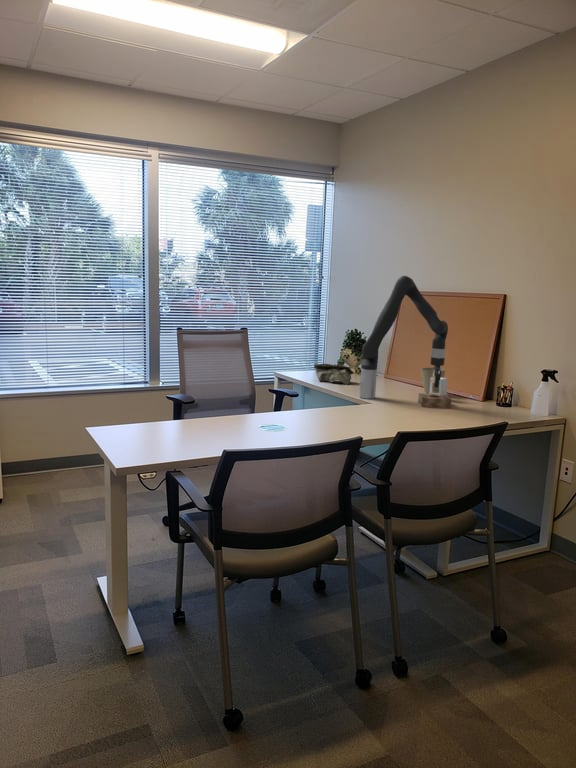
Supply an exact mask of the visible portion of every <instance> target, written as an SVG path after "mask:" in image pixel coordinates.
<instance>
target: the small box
mask: <svg viewBox="0 0 576 768" xmlns="http://www.w3.org/2000/svg"><path fill="white" fill-rule="evenodd" d="M432 383H433V377H431V379H430V392H429V394H441V395H447V396H448V394H447V393H448V391H447V390H448V378H446V377H444V378H441V377H440V387H439V393H433V392H432Z"/></svg>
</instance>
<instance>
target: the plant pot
mask: <svg viewBox="0 0 576 768" xmlns="http://www.w3.org/2000/svg"><path fill="white" fill-rule="evenodd" d="M440 369H441V378H445V373H446V369H445V368H441V367H440ZM420 373H421V374H420V375H421V381H422V386H423V389H424V394H429V392H430V379H431V377H433V367H430V366H429V367H421V368H420Z"/></svg>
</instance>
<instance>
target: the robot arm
mask: <svg viewBox="0 0 576 768" xmlns="http://www.w3.org/2000/svg"><path fill="white" fill-rule="evenodd" d="M405 296H407V297H408V298H409V299H410V301H412V303H413V304H414V306H415V307H416V309H417V310H418V312H419V313H420V315H421V316H422V317H423V318H424V320H425V321H426V323H427V324H428V327H429V328H430V329H431V331H432V332H434V338H433V339H432V345H431V351H430V353H431V354H430V365H431V366H433V367H432V368H433V374H434V377H435V385H434V387H436V388H438V387H439V380H440V377H441V369H440V368H441V366H444V365H445V361H446V358H445V357H446V340H447V337H448V336H447V335H448V333H449V332H448V331H449V326H448V323H447V322H446V321H445V320H440V318H439V317H438V313H437V311H436V310H435V309H434V308H433V306H432V305H431V303H429V302H428V301H427V300H426V298H425V297H424V296H423V294H422V293H421V291H420V290H419V288H418V287H417V285H416V283H415V281H414V280H413V279H412V278H411V277H410V276H408V275H401V276H399V278H397V280H396V282H395V284H394V286H393V289H392V291H391V294H390V296H389V298H388V299H387V301H386V303H385V304H384V307H383V308H382V310H381V312H380V314H379V316H378V317H377V320H376V322H375V324H374V327H373V329H372V332H371V334H370V335H369V336H368V338H367V339H366V341H365V343H364V344H363V346H362V348H361V353H362V359H361V365H360V366H361V368H360V370H361V371H360V382H359V398H360V399H369V400H370V399H373V400H374V399H375V398H376V389H377V373H378V362H379V361H378V360H379V349H380V346H381V344H382V341H383V339H384V338H385V337H386V335H387V334H388V332H389V331H390V329H391V328H392V327H393V325H394V323H395V321H396V320H397V316H399V315H398V314H399V311H400V307H401V304H402V303H403V299H404V298H405ZM437 377H438V378H437Z"/></svg>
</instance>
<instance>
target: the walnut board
mask: <svg viewBox="0 0 576 768" xmlns="http://www.w3.org/2000/svg"><path fill="white" fill-rule="evenodd" d="M417 403H418V404H419V405H420V407H421V408H435V409H451V408H452V398H451V397H449V395H448V394H447V395H441V394H426V393H418V401H417Z"/></svg>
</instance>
